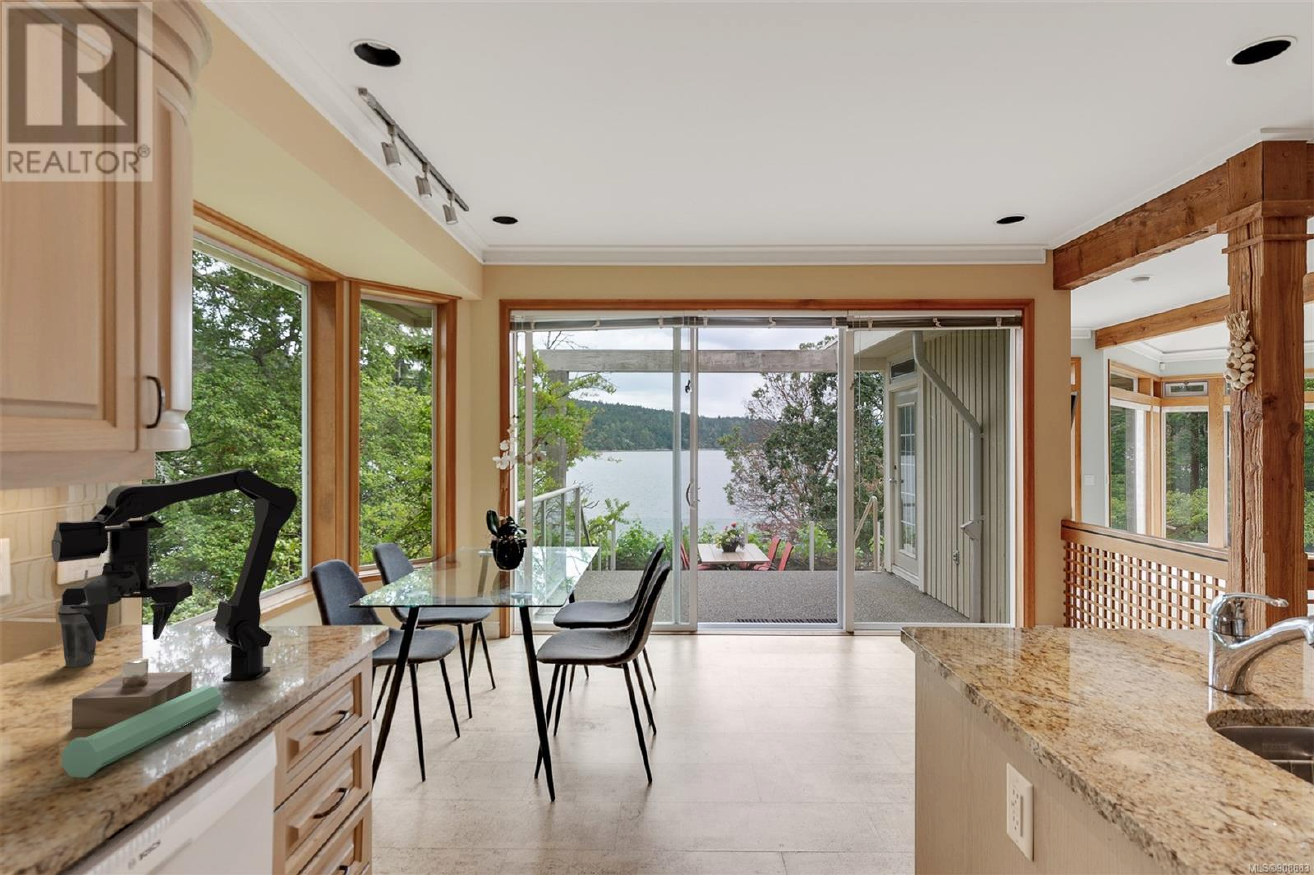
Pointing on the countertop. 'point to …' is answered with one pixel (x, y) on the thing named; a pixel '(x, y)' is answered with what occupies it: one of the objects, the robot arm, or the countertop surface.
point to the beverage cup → (76, 636)
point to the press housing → (126, 699)
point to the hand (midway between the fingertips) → (128, 640)
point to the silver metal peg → (135, 672)
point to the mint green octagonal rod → (137, 732)
